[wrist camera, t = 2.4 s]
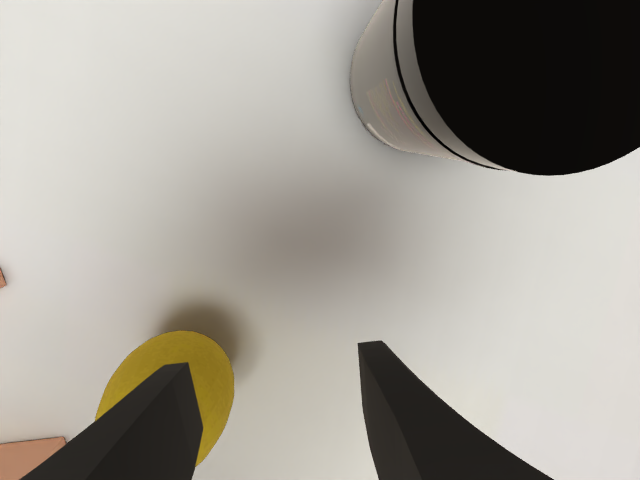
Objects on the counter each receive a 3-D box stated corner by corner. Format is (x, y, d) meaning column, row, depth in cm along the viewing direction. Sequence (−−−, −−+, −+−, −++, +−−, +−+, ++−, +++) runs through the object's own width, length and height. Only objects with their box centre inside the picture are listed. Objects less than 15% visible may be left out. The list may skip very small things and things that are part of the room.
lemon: (127, 356, 20) (23, 490, 13) (182, 285, 19) (104, 384, 12) (209, 404, 22) (158, 553, 14) (264, 340, 21) (242, 463, 13)
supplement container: (515, 41, 17) (828, -96, 7) (444, 175, 18) (612, 223, 8) (387, -32, 16) (535, -319, 6) (323, 117, 17) (352, 95, 7)
